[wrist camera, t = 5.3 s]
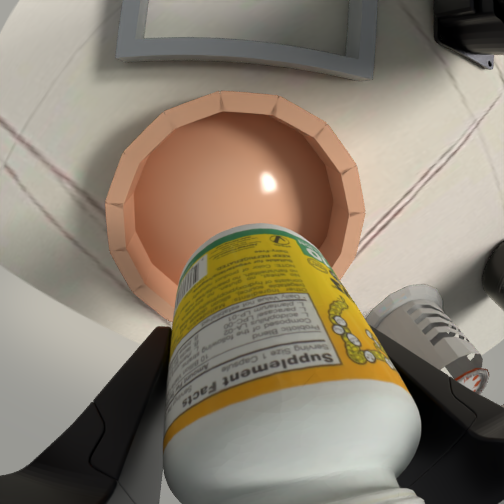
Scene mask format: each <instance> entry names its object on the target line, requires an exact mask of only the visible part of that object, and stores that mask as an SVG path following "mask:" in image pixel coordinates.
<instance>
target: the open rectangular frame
mask: <svg viewBox="0 0 504 504" xmlns="http://www.w3.org/2000/svg"><path fill="white" fill-rule="evenodd" d="M377 2H378V0H349V11H348V27H347V42H346V54H345V56H342V55H337V54H333V53H328V52H323V51H318V50H313V49H308V48H302V47H296V46H290V45H283V44H276V43H268V42H260V41H250V40H238V39H224V38H197V37H172V38H146V39H144V32H145V24H146V16H147V9H148V3H149V0H123V3H122V9H121V16H120V23H119V30H118V38H117V47H116V57H115V58H117V59H119V60H121V61H123V62H138V61H161V60H202V61H225V62H240V63H252V64H262V65H271V66H279V67H286V68H293V69H300V70H306V71H312V72H317V73H323V74H328V75H333V76H338V77H343V78H347V79H351V80H356V81H363V80H373V71H374V59H375V45H376V28H377Z"/></svg>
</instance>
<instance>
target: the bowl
mask: <svg viewBox="0 0 504 504" xmlns="http://www.w3.org/2000/svg"><path fill="white" fill-rule="evenodd" d="M105 202H106V203H105V211H106V223H107V234H108V243H109V251H110V254H111V255H112V257H113V259H114V261H115V263H116V265H117V266H118V268H119V270H120V272H121V274H122V275H123V277H124V279H125V281H126V282H127V284H128V286H129V288H130V289H131V291H133V293H134V294H135V295H136V296H137V297H139V298H140V299H141V300H142V301H143V302H145V303H146V304H147V305H148V306H150V307H151V308H152V309H153V310H155V311H156V312H157V313H158V314H160V315H161V316H162V317H164V318H165V319H166V320H167V319H168V321H171V322H173V315H174V309H175V301H176V295H177V289H178V284H179V279H180V276H181V274H182V271H183V269H184V267H185V265H186V263H187V262H188V260H189V259H190V257H191V256H192V255H193V253H194V252H195V251H196V250H197V249H198V248H199V247H200V246H201V245H202V244H204V243H205V242H206V241H207V240H209V239H210V238H211V237H213V236H215V235H216V234H218V233H220V232H223V231H225V230H228V229H231V228H234V227H237V226H241V225H246V224H255V223H267V224H273V225H278V226H281V227H285V228H287V229H290V230H292V231H294V232H296V233H298V234H299V235H301V236H302V237H303V238H305V239H306V240H308V241H309V242H310V243H311V244H313V245H314V246H315V247H316V248H317V249H318V250H319V251H320V253H321V254H322V255H323V257H324V258H325V259H326V260H327V262H328V263H329V265H330V266H331V268H332V269H333V271H334V272H335V274H336V275H337V277H338V279H339V280H340V279H341V278H342V277H343V275H344V274H345V272H346V271H347V269H348V268H349V266H350V264H351V263H352V261H353V260H354V258H355V257H354V256H356V253H357V249H358V244H359V240H360V236H361V231H362V227H363V222H364V217H365V206H364V200H363V195H362V189H361V184H360V179H359V173H358V168H357V166H356V163H355V162H354V160H353V159H352V157H351V156H350V154H349V153H348V152H347V150H346V149H345V147H344V146H343V144H342V143H341V141H340V140H339V139H338V137H337V136H336V134H335V133H334V132H333V130H332V129H331V128H330V126H329V125H328V124H326V122H324V121H323V120H321V119H319V118H318V117H316V116H314V115H313V114H311V113H309V112H308V111H306V110H304V109H302V108H301V107H299V106H297V105H295V104H293V103H292V102H290V101H288V100H286V99H284V98H283V97H281V96H278V95H269V94H259V93H247V92H234V91H220V92H219V91H218V92H215V93H212V94H209V95H206V96H203V97H200V98H197V99H195V100H192V101H189V102H186V103H184V104H181V105H179V106H176V107H173V108H171V109H168V110H166V111H164V112H162V113H161V114H160V115H159V116H158V117H157V118H156V119H155V120H154V121H153V122H152V123H151V124H150V125H149V126H148V127H147V128H146V129H145V130H144V131H143V132H142V133H141V134H140V135H139V136H138V137H137V138H136V139H135V140H134V141H133V142H132V143H131V144H130V145H129V146H128V147H127V148H126V150H125V151H124V153H122V156H121V158H120V161H119V164H118V166H117V169H116V172H115V175H114V177H113V180H112V183H111V186H110V189H109V192H108V195H107V198H106V201H105Z"/></svg>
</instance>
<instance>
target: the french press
mask: <svg viewBox="0 0 504 504" xmlns="http://www.w3.org/2000/svg"><path fill="white" fill-rule="evenodd" d="M442 307H443V299H442V298H441V296H440V294H439V292H438V290H437V289H435V288H433V287H431V286H429V285H426V284H420V285H411V286H407V287H405V288H403V289H401V290H399V291H397V292H395V293H393V294H390V295H389V296H388V297H387V298H385V299H384V300H383V301H382V302H381V303H380V304H378V305H377V306H376V307H375V308H374V309H373V310H372V311H371V312H370V314H369V315H368V317H367V318H366V322H367V323H368V324H369V325H371V326H373V327H374V328H376V329H377V330H379V331H380V332H382V333H383V334H385V335H386V336H388V337H390V338H391V339H393V340H394V341H396V342H397V343H399V344H400V345H402V346H404V347H405V348H407V349H408V350H410V351H411V352H413V353H414V354H416V355H417V356H419V357H421V358H422V359H424V360H425V361H427V362H428V363H430V364H431V365H433V366H434V367H436V368H438V369H439V370H441V369H442V368H443V367H446V368H447V370H448V371H449V373H450V374H451V375H452V376H453V378H454V379H455V380H456V381H458V382H459V383H461V384H462V385H464V386H466V387H467V388H469V389H470V390H472V391H474V392H476V393H478V394H479V395H481V393H482V391H483V390H484V389H485V387H486V385H487V383H488V379H489V372H488V370H487V369H482V368H481V367H482V357H481V354H480V353H479V352H478V351H477V349H476V348H475V347H474V346H473V344H472V343H470V342H469V341H468V339H467V338H466V336H465V335H464V334H463V333H462V332H461V331H460V330H459V329H458V327H457V326H456V325H455V324H454V323H453V322H452V320H451V319H450V318H449V317H448V316H447V315H446V314H445V313H444V312H443V311H442ZM449 320H450V321H451V322H449ZM448 324H450V325H452V328H450V327H448ZM456 328H457V329H458V330H459V331H457V330H456ZM447 332H449V334H448V333H447ZM455 333H456V334H459V338H458V337H454V336H455ZM464 337H465V338H466V340H467V341H465V340H464ZM471 353H474V354H475V356H474V358H473V359H472V360H471V361H470V360H469V359H468V358H467V355H468V354H471ZM501 406H502V407H504V404H503V405H501Z"/></svg>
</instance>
